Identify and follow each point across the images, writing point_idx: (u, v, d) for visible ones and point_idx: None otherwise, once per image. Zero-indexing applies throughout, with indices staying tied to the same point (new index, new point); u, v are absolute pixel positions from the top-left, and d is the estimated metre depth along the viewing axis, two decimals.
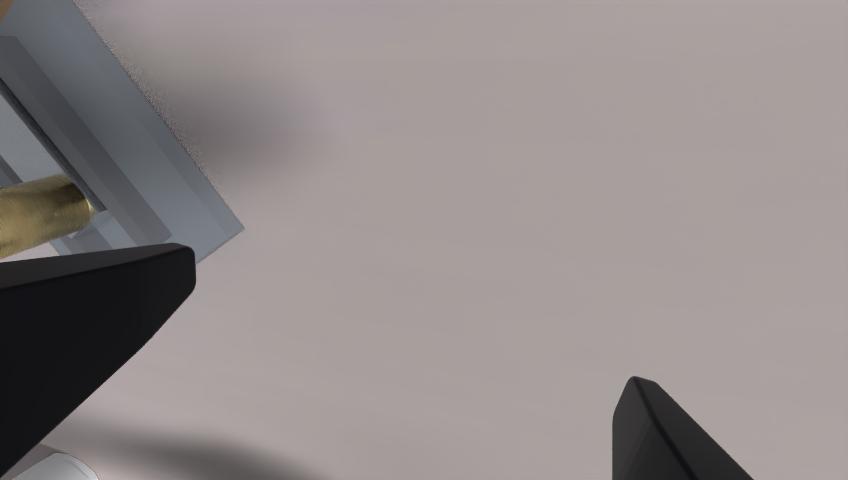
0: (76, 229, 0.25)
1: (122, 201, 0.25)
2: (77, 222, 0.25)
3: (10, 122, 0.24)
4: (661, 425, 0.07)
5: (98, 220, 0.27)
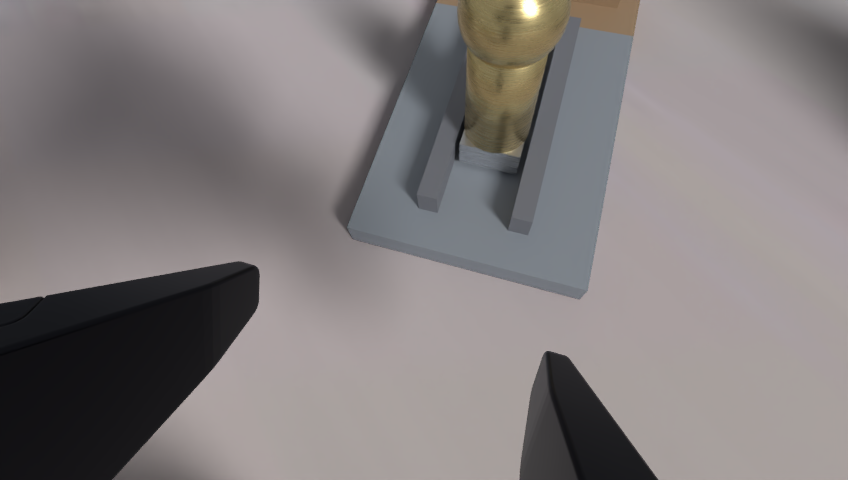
0: (493, 145, 0.22)
1: (543, 174, 0.22)
2: (506, 144, 0.22)
3: None
4: (555, 393, 0.07)
5: (489, 160, 0.23)
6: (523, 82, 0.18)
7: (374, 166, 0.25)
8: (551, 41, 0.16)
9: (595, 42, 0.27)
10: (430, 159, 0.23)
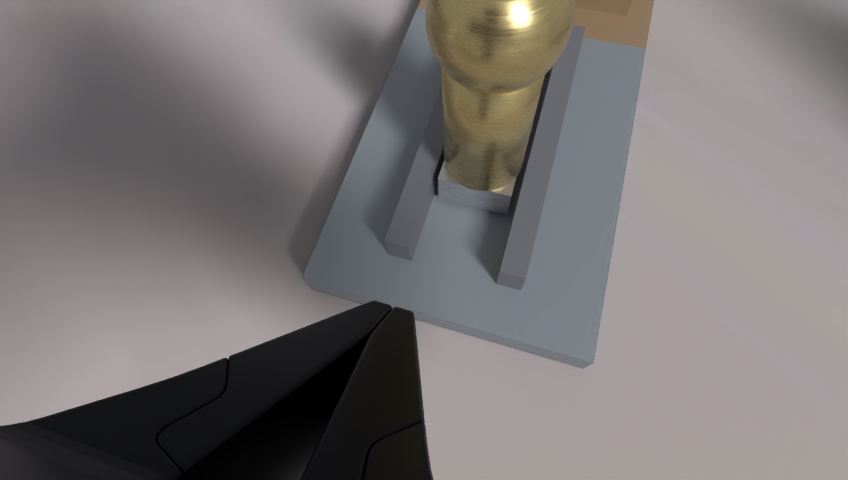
0: (478, 182, 0.18)
1: None
2: (493, 180, 0.18)
3: None
4: (374, 338, 0.07)
5: (474, 198, 0.19)
6: (512, 109, 0.14)
7: (338, 202, 0.21)
8: (548, 59, 0.12)
9: (601, 55, 0.23)
10: (402, 197, 0.19)
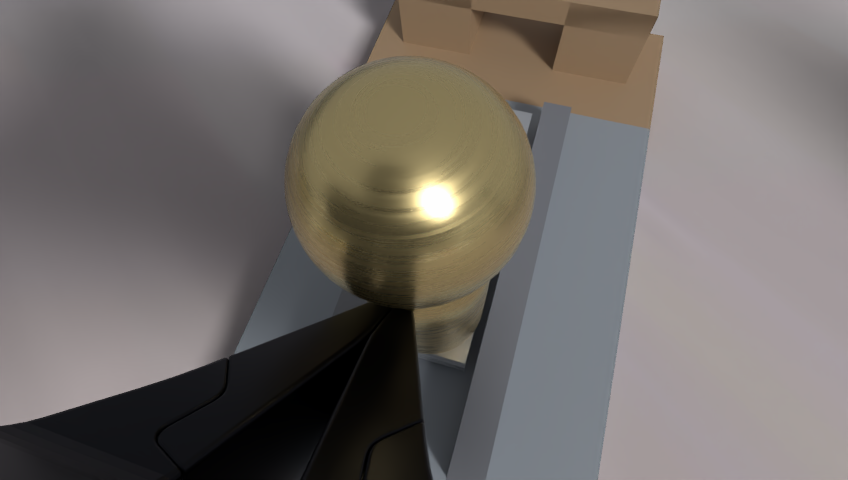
0: (418, 349, 0.13)
1: None
2: (439, 348, 0.13)
3: None
4: (374, 338, 0.07)
5: (419, 354, 0.14)
6: (445, 307, 0.09)
7: (243, 345, 0.16)
8: (489, 276, 0.07)
9: (593, 138, 0.18)
10: None
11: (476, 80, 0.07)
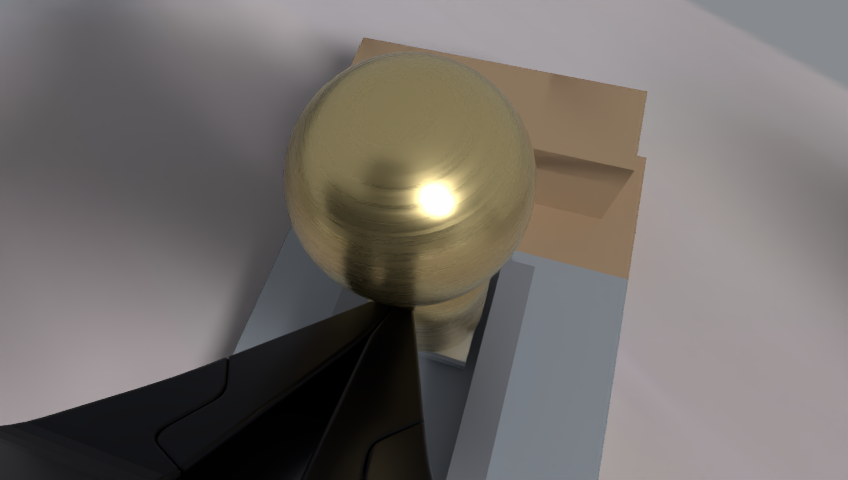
0: (418, 347, 0.13)
1: None
2: (439, 346, 0.13)
3: None
4: (374, 338, 0.07)
5: (419, 352, 0.14)
6: (446, 305, 0.09)
7: None
8: (489, 274, 0.07)
9: (562, 289, 0.16)
10: None
11: (476, 76, 0.06)
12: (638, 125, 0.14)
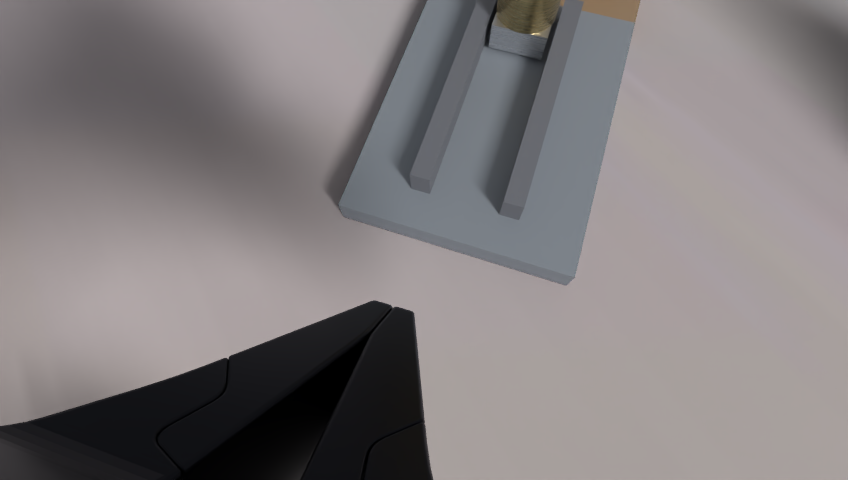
0: (524, 24, 0.24)
1: (537, 159, 0.22)
2: (536, 22, 0.24)
3: None
4: (374, 338, 0.07)
5: (518, 44, 0.25)
6: None
7: (368, 144, 0.24)
8: None
9: (596, 27, 0.27)
10: (424, 139, 0.23)
11: None
12: None
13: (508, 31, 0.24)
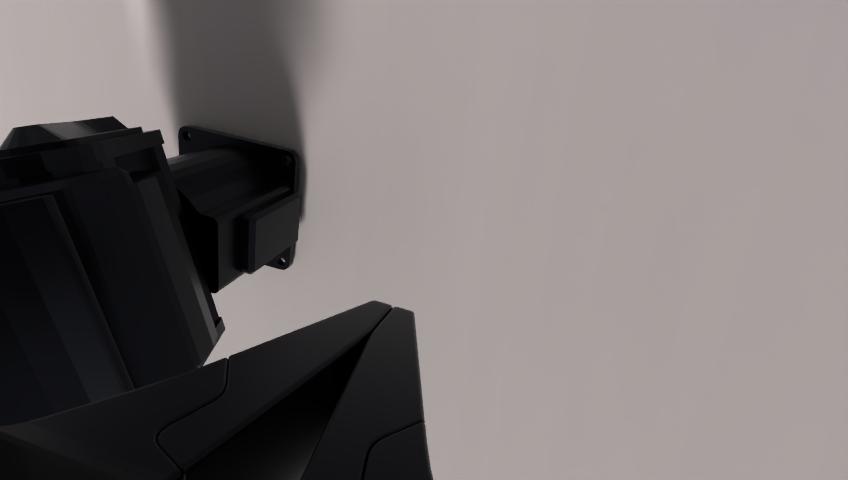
0: None
1: None
2: None
3: None
4: (374, 338, 0.07)
5: None
6: None
7: None
8: None
9: None
10: None
11: None
12: None
13: None
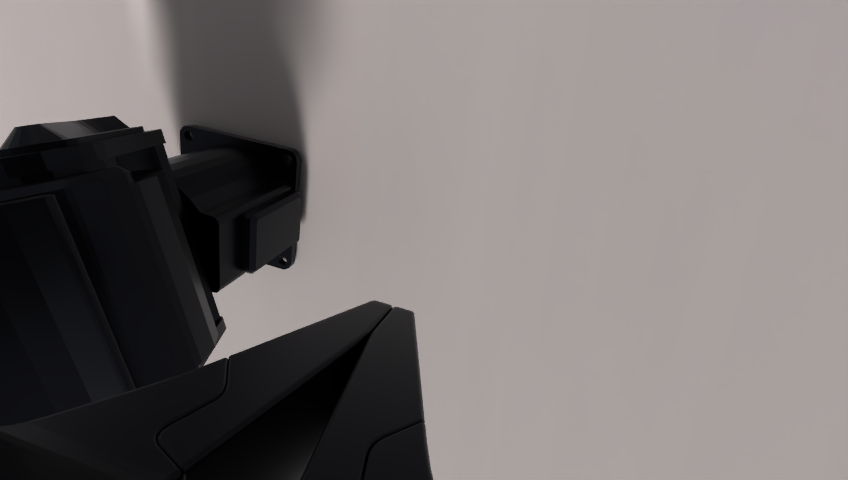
0: None
1: None
2: None
3: None
4: (374, 338, 0.07)
5: None
6: None
7: None
8: None
9: None
10: None
11: None
12: None
13: None
